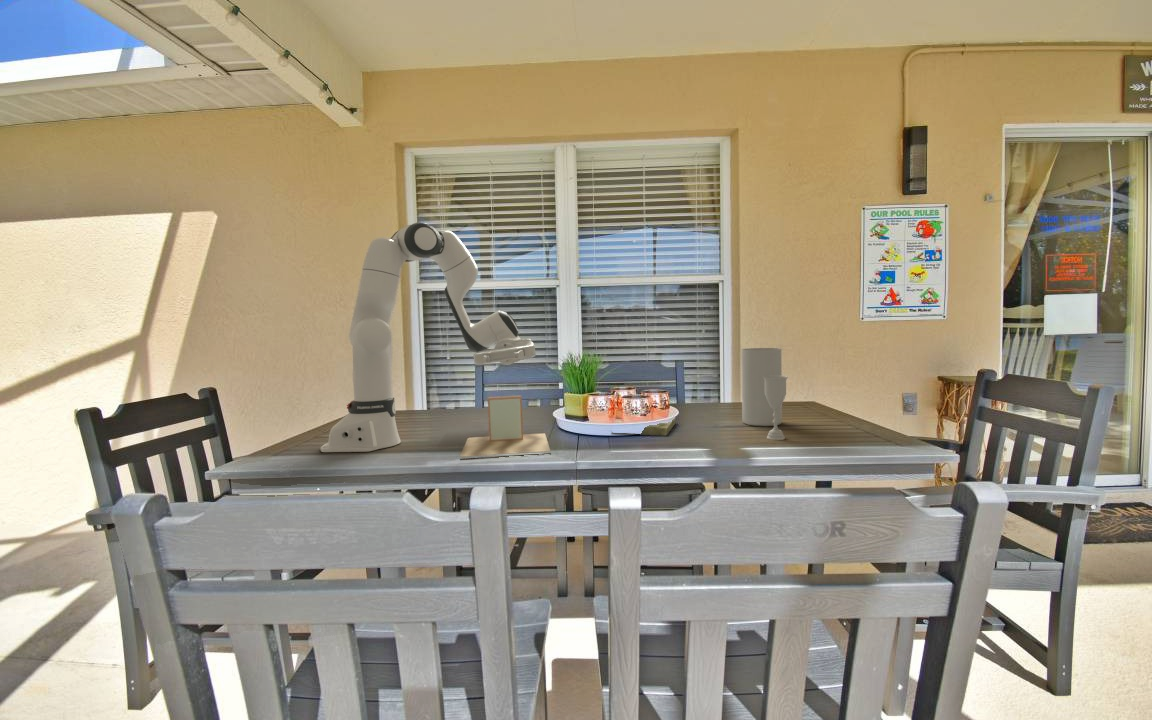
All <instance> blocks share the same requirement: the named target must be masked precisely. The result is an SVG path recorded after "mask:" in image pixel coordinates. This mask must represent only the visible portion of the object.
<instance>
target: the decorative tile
mask: <svg viewBox="0 0 1152 720" xmlns="http://www.w3.org/2000/svg"><path fill="white" fill-rule="evenodd" d="M675 425H676V417H674V419H673V420H672V422H668V423H659V424H657V425H649V426H647V427H645V428H644V430H643V431H642V433H641V434H640V436H641V435H642V436H644V435H646V436H664V437H665V436H667V435H669V433H670V431H671V430H672V428H673V427H675Z"/></svg>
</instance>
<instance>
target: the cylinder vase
mask: <svg viewBox="0 0 1152 720" xmlns="http://www.w3.org/2000/svg"><path fill="white" fill-rule="evenodd" d="M740 352H741V415H742V416H741V417H742V419H741V420H742V422H743V424H745V425H748V426H754V427H774V423H773V422H772V421H773V420H774V416H773V414H774V409H773V408H772V407H770V405H769V403H768V401H767V398H766V395H765V380H764V378H763V376H769V375H780V376H783V375H782V373H783V372H782V370H783V369H782V348H779V347H754V348H752V347H751V348H741V351H740ZM777 413H778V417H777V420H778V421H779V422H778V424H777V426H780V425H781V424H782V422H783V404H782V405H781V407H780V408H778V409H777Z"/></svg>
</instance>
